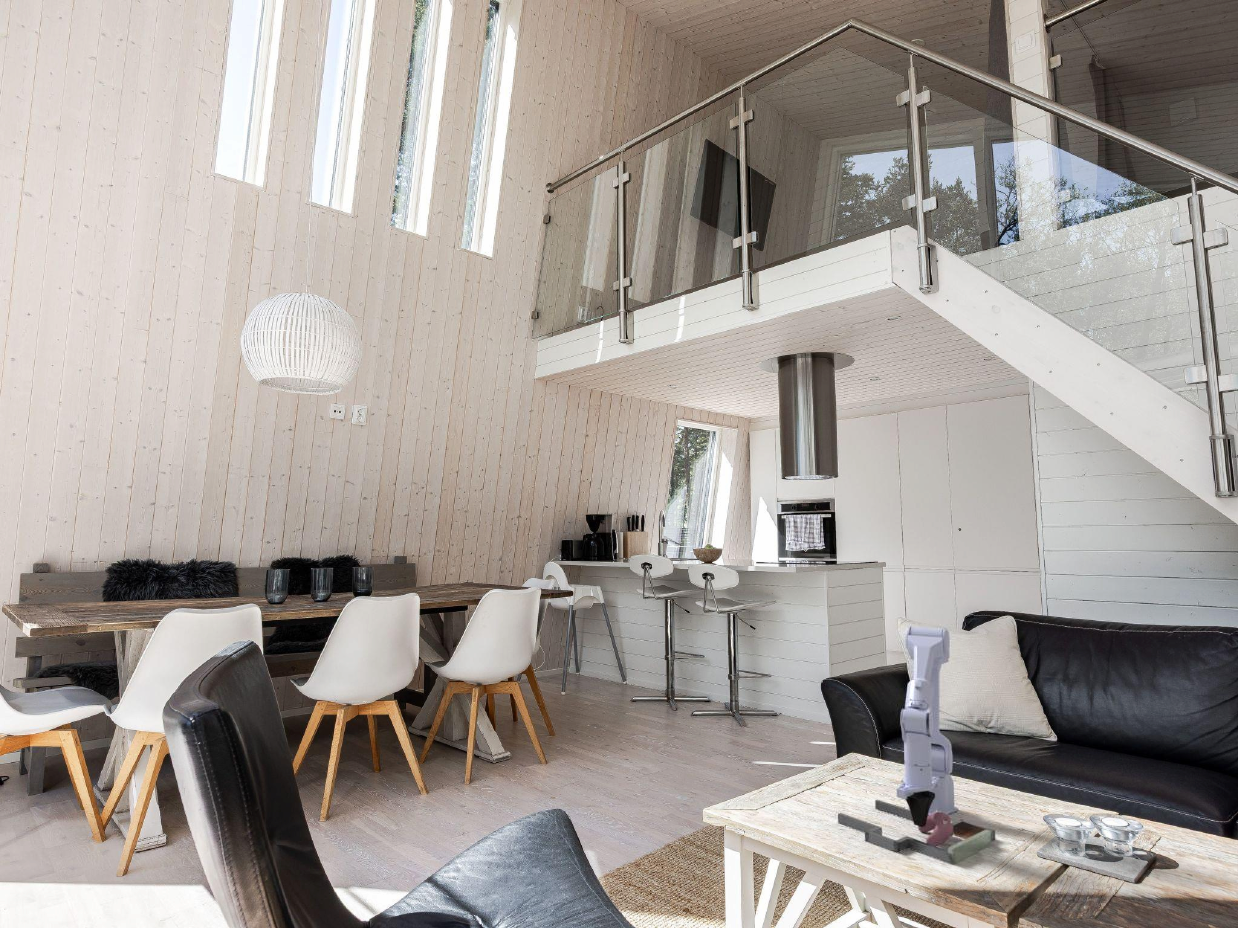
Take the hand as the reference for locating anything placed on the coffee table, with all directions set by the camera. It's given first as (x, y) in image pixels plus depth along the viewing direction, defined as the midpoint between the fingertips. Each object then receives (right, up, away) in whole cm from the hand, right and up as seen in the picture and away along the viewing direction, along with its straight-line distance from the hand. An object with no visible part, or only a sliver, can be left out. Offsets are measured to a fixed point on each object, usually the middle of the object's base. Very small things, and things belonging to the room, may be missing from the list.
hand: (919, 825), depth 170 cm
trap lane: (-1, -3, +1) cm, 3 cm away
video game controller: (+3, -3, -2) cm, 4 cm away
